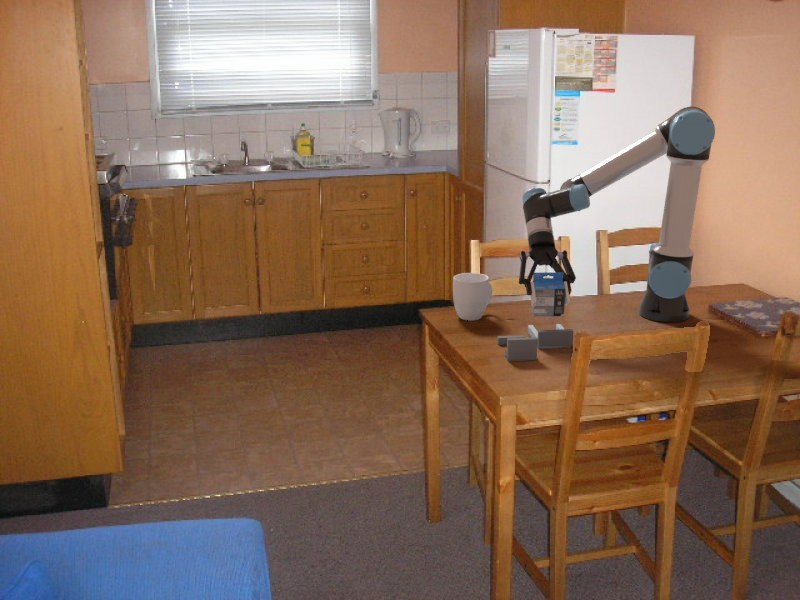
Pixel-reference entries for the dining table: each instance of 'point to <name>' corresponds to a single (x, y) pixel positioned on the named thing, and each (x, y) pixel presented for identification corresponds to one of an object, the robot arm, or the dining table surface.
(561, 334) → the dock
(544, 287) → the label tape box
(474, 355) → the dining table surface
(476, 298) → the mug
